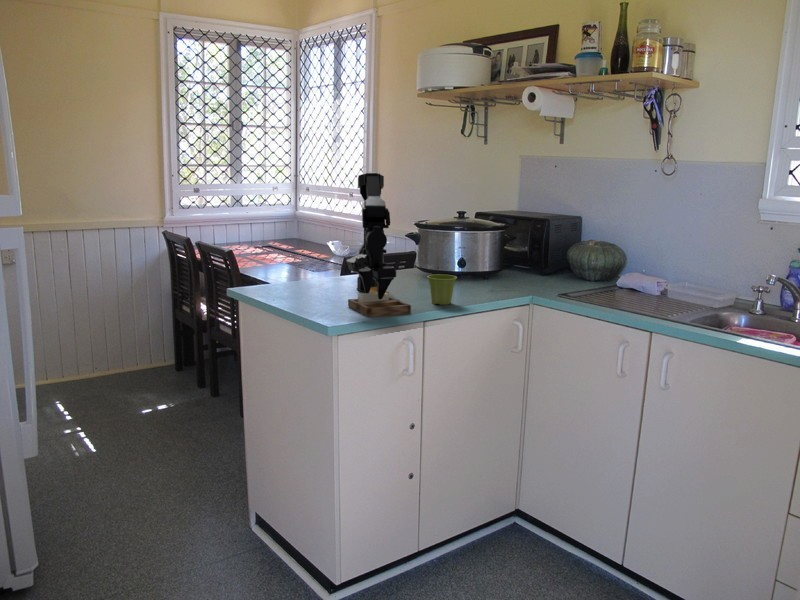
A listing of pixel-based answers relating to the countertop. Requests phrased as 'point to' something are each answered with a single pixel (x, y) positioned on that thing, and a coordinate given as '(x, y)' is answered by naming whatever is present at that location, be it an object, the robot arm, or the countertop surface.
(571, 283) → the countertop surface
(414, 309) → the countertop surface
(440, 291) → the plant pot
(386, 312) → the slot board
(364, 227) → the robot arm
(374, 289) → the tall amber prism
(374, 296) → the off-white square pillar
